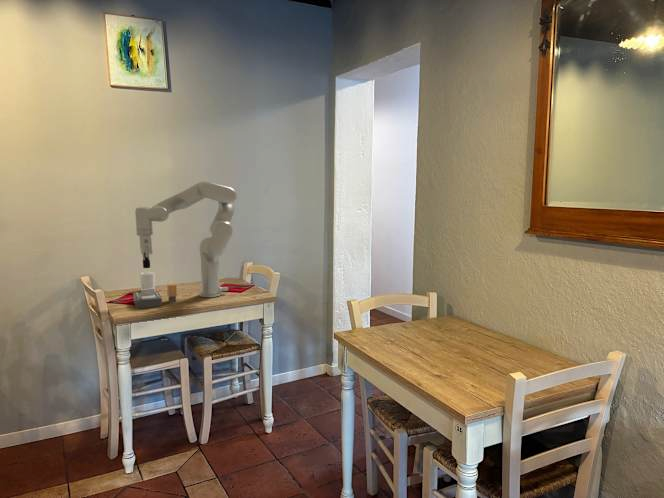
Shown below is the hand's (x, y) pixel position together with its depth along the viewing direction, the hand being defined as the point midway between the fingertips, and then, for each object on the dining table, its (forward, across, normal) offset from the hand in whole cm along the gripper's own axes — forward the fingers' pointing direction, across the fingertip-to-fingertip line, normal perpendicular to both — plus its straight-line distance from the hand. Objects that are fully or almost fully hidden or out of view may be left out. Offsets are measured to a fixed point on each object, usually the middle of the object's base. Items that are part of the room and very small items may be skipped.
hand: (146, 267), depth 244 cm
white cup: (+18, +25, -2) cm, 31 cm away
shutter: (+14, -8, +1) cm, 16 cm away
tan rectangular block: (+18, -3, -11) cm, 21 cm away
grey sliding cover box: (+18, -3, +1) cm, 18 cm away
